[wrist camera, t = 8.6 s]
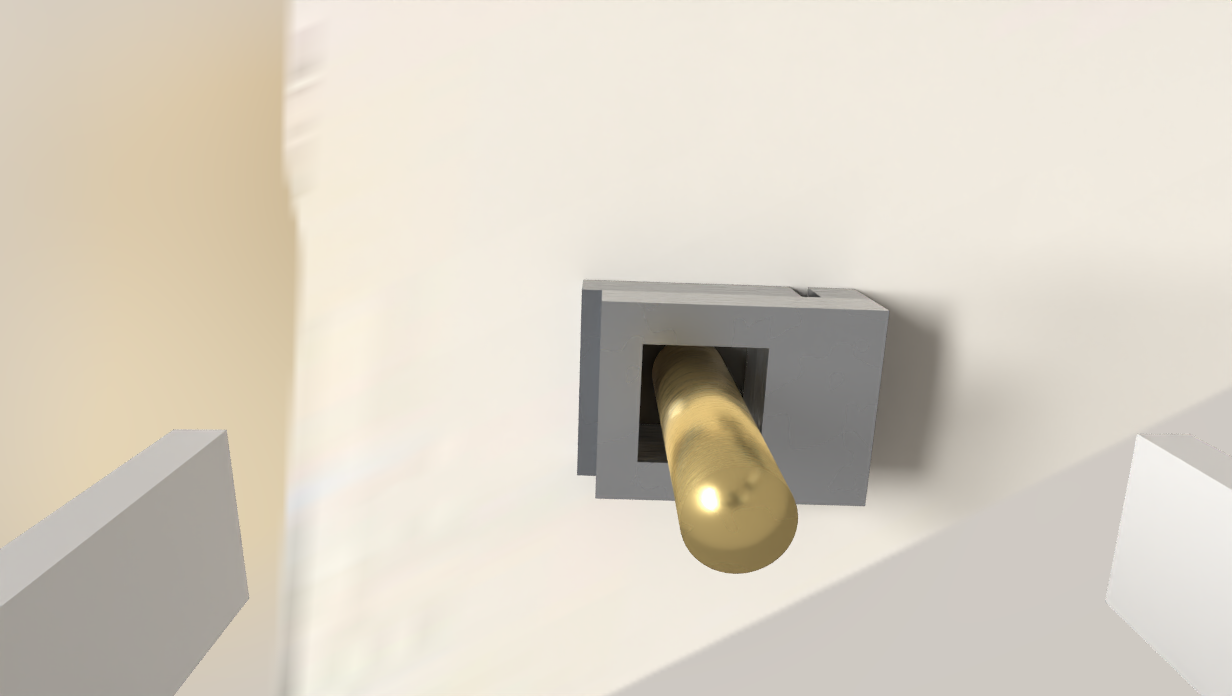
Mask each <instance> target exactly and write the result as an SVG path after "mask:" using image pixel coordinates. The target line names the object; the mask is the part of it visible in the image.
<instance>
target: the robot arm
mask: <svg viewBox="0 0 1232 696" xmlns="http://www.w3.org/2000/svg"><path fill="white" fill-rule="evenodd" d="M248 599H249V593H248V586H247V579H246V571H245V565H244V556H243V549H242V541H241V534H240V526H239V519H238V512H237V504H236V496H235V489H234V481H233V474H232V467H231V459H230V451H229V444H228V436H227V430H172V431H171V432H169V433H168V434H166V435H165V436H163V437H162V438H161V439H159V440H158V441H156V442H155V443H153V444H152V445H150V446H149V447H147V448H146V449H145V450H143V451H142V452H140V453H139V454H137V455H136V456H135V457H133V458H131V459H130V460H129V461H127V462H126V463H124V464H123V465H121V466H120V467H118V468H117V469H115V470H114V471H113V472H111V473H110V474H108V475H107V476H105V477H104V478H102V479H101V480H100V481H98V482H97V483H95V484H94V485H92V486H91V487H90V488H88V489H86V490H85V491H84V492H82V493H81V494H79V495H78V496H76V497H75V498H73V499H72V500H70V501H69V502H68V503H66V504H65V505H63V506H62V507H60V508H59V509H57V510H56V511H54V512H53V513H52V514H50V515H49V516H47V517H46V518H44V519H43V520H41V521H40V522H39V523H37V524H36V525H34V526H33V527H31V528H30V529H28V530H27V531H26V532H24V533H22V534H21V535H20V536H18V537H17V538H15V539H14V540H12V541H11V542H9V543H8V544H6V545H5V546H4V547H2V548H1V549H0V696H174V695H175V693H176V692H177V691H178V689H179V688H180V687H181V686H182V684H183V683H184V682H185V680H186V679H187V678H188V677H189V675H190V674H191V673H192V671H193V670H194V669H195V667H196V666H197V665H198V664H199V662H200V661H201V660H202V658H203V657H204V656H205V655H206V653H207V652H208V651H209V649H210V648H211V647H212V645H213V644H214V643H215V642H216V640H217V639H218V638H219V637H220V635H221V634H222V632H223V631H224V630H225V629H226V627H227V626H228V625H229V624H230V622H231V621H232V620H233V618H234V617H235V616H236V615H237V613H238V612H239V610H240V609H241V608H242V607H243V606H244V604H245V603H246V602H247V600H248ZM1105 602H1106V603H1107V604H1108V605H1109V606H1110V607H1111V608H1112V609H1113V610H1114V611H1115V612H1116V613H1117V614H1118V615H1119V616H1120V617H1121V618H1122V619H1123V620H1124V621H1125V622H1126V623H1127V624H1128V625H1129V626H1130V627H1131V628H1133V629H1134V630H1135V631H1136V632H1137V633H1138V634H1139V635H1140V636H1141V637H1142V638H1143V639H1144V640H1145V641H1146V642H1147V643H1148V644H1149V645H1150V646H1151V647H1152V648H1153V649H1154V650H1155V651H1156V652H1157V653H1158V654H1159V655H1160V656H1161V657H1162V658H1163V659H1164V660H1165V661H1166V662H1167V663H1168V664H1169V665H1170V666H1172V668H1173V669H1175V670H1176V671H1177V672H1178V673H1179V674H1180V675H1181V676H1182V677H1183V678H1184V679H1185V680H1186V681H1187V682H1188V683H1189V684H1190V685H1191V686H1192V687H1193V688H1194V689H1195V690H1196V691H1197V692H1198V693H1199V694H1200V695H1201V696H1232V456H1230V455H1228V454H1226V453H1225V452H1223V451H1221V450H1219V449H1217V448H1215V447H1213V446H1211V445H1210V444H1208V443H1206V442H1204V441H1202V440H1200V439H1198V438H1197V437H1195V436H1193V435H1191V434H1137V437H1136V443H1135V448H1134V453H1133V458H1132V464H1131V469H1130V475H1129V479H1128V485H1127V490H1126V495H1125V500H1124V506H1123V511H1122V516H1121V522H1120V527H1119V532H1118V538H1117V542H1116V548H1115V553H1114V558H1113V563H1112V569H1111V574H1110V580H1109V584H1108V590H1107V595H1106V600H1105Z"/></svg>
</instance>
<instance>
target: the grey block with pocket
mask: <svg viewBox="0 0 1232 696" xmlns="http://www.w3.org/2000/svg"><path fill="white" fill-rule="evenodd" d="M888 319H889V310H888V309H886V308H884V307H883V306H881V305H880V304H878V303H876V302H875V301H873V300H872V299H870V298H868V297H867V296H865V295H863V294H862V293H860V292H859V291H857V290H855V289H840V288H810V287H808V294H807V297H801V296H800V295H799V294H798V293H796V292H795V291H794V290H793V289H792V288H790V287H781V286H751V285H721V284H692V283H662V282H632V281H603V280H583V287H582V310H581V349H580V388H579V427H578V466H577V475H588V476H596V496H595V498H600V499H635V500H670V501H675V498H674V492H673V487H672V482H671V476H670V471H669V465H668V460H667V455H666V449H665V444H664V438H663V433H662V428H661V424H639V414H640V393H641V371H642V349H643V344H656V345H687V346H718V347H747V356H746V369H745V381H744V394H743V400H744V402H745V404H746V406H747V408H748V410H749V412H750V414H751V415H752V417H753V419H754V421H755V423H756V425H757V427H758V429H759V431H760V433H761V435H762V437H763V439H764V441H765V443H766V445H767V446H768V448H769V450H770V452H771V454H772V456H773V458H774V460H775V462H776V464H777V466H778V468H779V470H780V472H781V474H782V476H783V477H784V479H785V481H786V483H787V485H788V487H789V489H790V491H791V493H792V495H793V497H794V500H795V502H796V504H811V505H847V506H865V502H866V494H867V486H868V478H869V470H870V462H871V454H872V446H873V438H874V430H875V422H876V414H877V406H878V398H879V391H880V383H881V375H882V367H883V359H884V351H885V343H886V335H887V327H888Z"/></svg>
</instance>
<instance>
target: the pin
mask: <svg viewBox="0 0 1232 696" xmlns="http://www.w3.org/2000/svg"><path fill="white" fill-rule="evenodd" d="M652 379H653V385H654V390H655V395H656V401H657V406H658V412H659V417H660V422H661V428H662V433H663V438H664V444H665V449H666V455H667V460H668V465H669V471H670V476H671V482H672V487H673V492H674V498H675V503H676V509H677V514H678V519H679V525H680V530H681V534H682V538H683V541H684V543H685V545H686V547H687V548H688V550H689V551H690V553H691V554H692V555H693V556H694V557H695V558H696V559H697V560H698V561H700V562H701V563H703V564H704V565H706V566H707V567H709V568H712V569H714V570H717V571H720V572H725V573H733V574H738V573H748V572H752V571H756V570H759V569H761V568H764V567H766V566H768V565H769V564H771V563H773V562H774V561H775V560H777V559H778V558H779V557H780V556H781V555H782V554H783V553H784V552H785V551H786V550H787V548H788V547H789V545H790V544H791V542H792V540H793V538H794V535H795V532H796V529H797V523H798V512H797V506H796V502H795V500H794V497H793V495H792V493H791V491H790V489H789V487H788V485H787V483H786V481H785V479H784V477H783V476H782V474H781V472H780V470H779V468H778V466H777V464H776V462H775V460H774V458H773V456H772V454H771V452H770V450H769V448H768V446H767V445H766V443H765V441H764V439H763V437H762V435H761V433H760V431H759V429H758V427H757V425H756V423H755V421H754V419H753V417H752V415H751V414H750V412H749V410H748V408H747V406H746V404H745V402H744V400H743V398H742V396H741V394H740V392H739V390H738V388H737V386H736V384H735V382H734V381H733V379H732V377H731V375H730V373H729V371H728V369H727V367H726V365H725V363H724V361H723V359H722V357H721V356H720V354H719V352H718V351H717V350H716V349H715V348H714V347H713V346H687V345H666V346H665V347H664V348H663V349H662V350H661V351H660V352H659V354H658V355H657V357H656V359H655V361H654V364H653V368H652Z"/></svg>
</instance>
